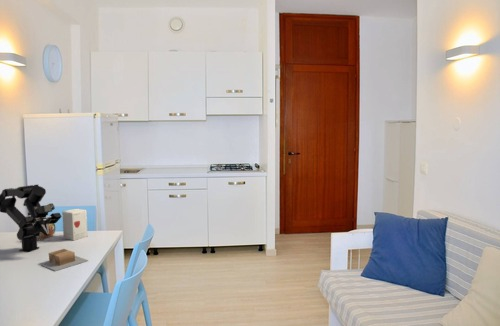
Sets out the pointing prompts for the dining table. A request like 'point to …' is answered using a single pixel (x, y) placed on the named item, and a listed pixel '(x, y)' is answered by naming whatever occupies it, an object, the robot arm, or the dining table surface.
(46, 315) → the dining table surface
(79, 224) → the supplement box
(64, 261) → the walnut block
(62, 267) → the mat
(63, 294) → the dining table surface
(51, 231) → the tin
